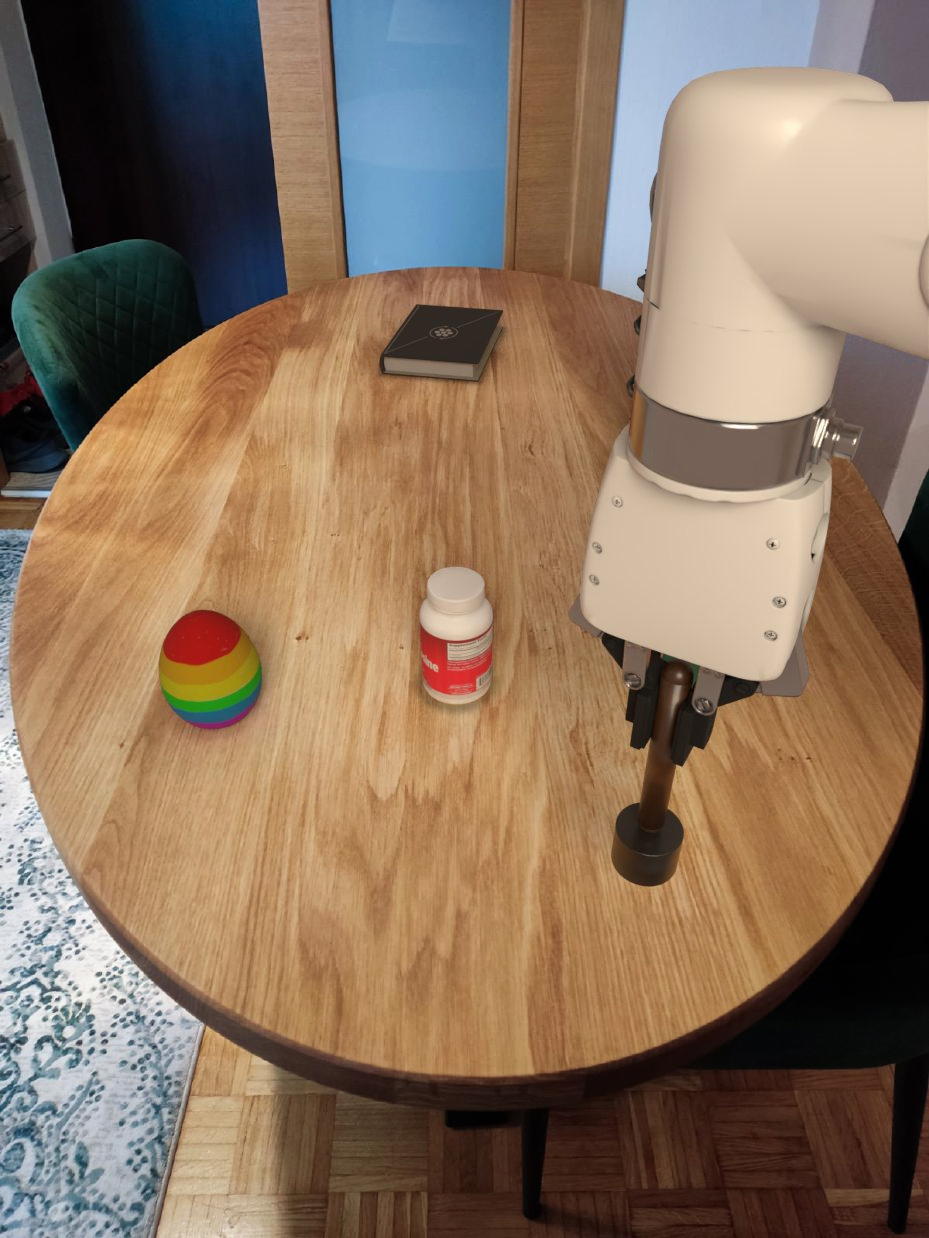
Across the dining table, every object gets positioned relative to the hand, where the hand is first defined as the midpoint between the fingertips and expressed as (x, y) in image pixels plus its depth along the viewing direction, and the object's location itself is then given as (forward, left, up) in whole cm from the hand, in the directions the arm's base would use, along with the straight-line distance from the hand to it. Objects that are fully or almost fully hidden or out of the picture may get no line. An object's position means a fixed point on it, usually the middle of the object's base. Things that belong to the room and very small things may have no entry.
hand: (665, 738), depth 47 cm
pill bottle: (+22, -15, -19) cm, 33 cm away
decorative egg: (+38, -2, -19) cm, 43 cm away
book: (+63, -79, -19) cm, 103 cm away
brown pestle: (0, 0, -11) cm, 11 cm away
